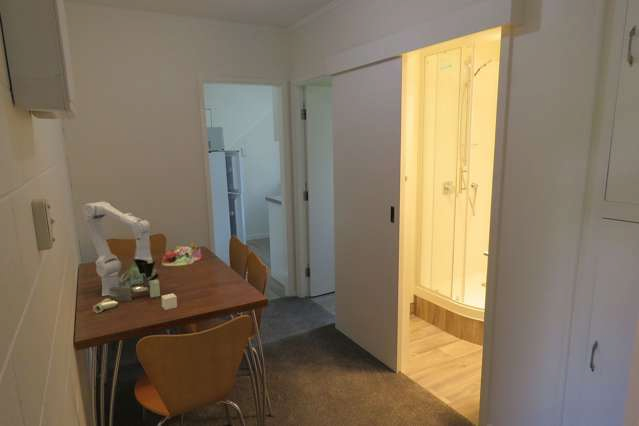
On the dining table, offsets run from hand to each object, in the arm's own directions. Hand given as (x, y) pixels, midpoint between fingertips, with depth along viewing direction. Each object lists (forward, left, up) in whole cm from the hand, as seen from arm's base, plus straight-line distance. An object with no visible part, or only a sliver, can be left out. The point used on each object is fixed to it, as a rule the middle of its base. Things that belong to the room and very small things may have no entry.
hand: (145, 275), depth 181 cm
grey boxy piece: (0, -11, -10) cm, 15 cm away
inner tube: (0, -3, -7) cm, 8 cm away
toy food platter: (-56, +25, -11) cm, 63 cm away
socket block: (0, +3, -10) cm, 11 cm away
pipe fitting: (+8, -17, -11) cm, 21 cm away
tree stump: (-29, -2, -11) cm, 31 cm away
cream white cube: (+19, +7, -10) cm, 23 cm away
